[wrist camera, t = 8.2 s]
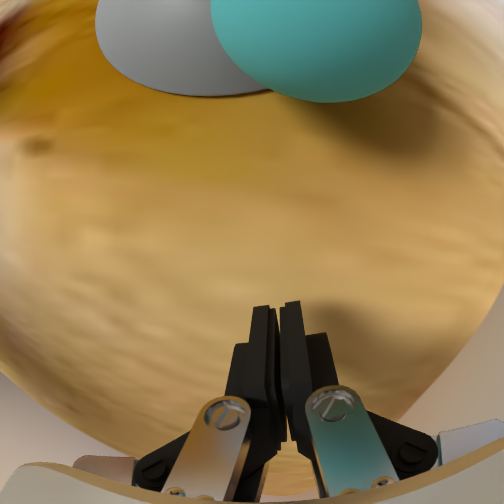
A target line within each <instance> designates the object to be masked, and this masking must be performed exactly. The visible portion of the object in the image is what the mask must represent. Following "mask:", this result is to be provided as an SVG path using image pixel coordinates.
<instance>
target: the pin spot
mask: <svg viewBox="0 0 504 504" xmlns="http://www.w3.org/2000/svg"><path fill="white" fill-rule="evenodd" d="M210 7H211V0H99V3H98V7H97V11H96V20H95V27H96V36H97V39H98V43H99V46H100V48H101V50H102V52H103V54H104V56H105V57H106V58H107V60H108V61H109V62H110V63H111V65H112V66H113V67H115V68H116V69H117V70H118V71H119V72H120V73H122V74H123V75H125V76H126V77H128V78H130V79H131V80H133V81H135V82H137V83H139V84H142V85H144V86H147V87H149V88H152V89H156V90H160V91H164V92H167V93H173V94H181V95H188V96H224V95H236V94H242V93H250V92H256V91H260V90H264V89H269V88H267V87H265V86H264V85H262V84H260V83H259V82H257V81H255V80H254V79H253V78H251V77H250V76H248V75H247V74H246V73H245V72H243V71H242V70H241V69H240V68H239V67H238V66H237V65H236V64H235V63H234V62H233V61H232V59H231V58H230V57H229V56H228V55H227V53H226V52H225V50H224V49H223V47H222V45H221V44H220V42H219V40H218V37H217V35H216V33H215V30H214V26H213V23H212V17H211V9H210Z"/></svg>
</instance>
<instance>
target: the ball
mask: <svg viewBox="0 0 504 504" xmlns="http://www.w3.org/2000/svg"><path fill="white" fill-rule="evenodd" d="M210 9H211V17H212V23H213V26H214V30H215V33H216V35H217V37H218V40H219V42H220V44H221V45H222V47H223V49H224V50H225V52H226V53H227V55H228V56H229V57H230V58H231V59H232V61H233V62H234V63H235V64H236V65H237V66H238V67H239V68H240V69H241V70H242V71H243V72H245V73H246V74H247V75H248V76H250V77H251V78H253V79H254V80H255V81H257V82H259V83H260V84H262V85H264V86H265V87H267V88H269V89H271V90H274V91H276V92H278V93H280V94H283V95H286V96H289V97H292V98H296V99H300V100H306V101H311V102H321V103H338V102H346V101H353V100H357V99H360V98H364V97H367V96H370V95H372V94H375V93H377V92H379V91H381V90H383V89H384V88H386V87H388V86H389V85H391V84H392V83H393V82H394V81H396V80H397V79H398V78H399V77H400V76H401V75H402V74H403V73H404V72H405V71H406V70H407V68H408V67H409V65H410V64H411V62H412V61H413V59H414V57H415V55H416V53H417V50H418V47H419V43H420V39H421V31H422V19H421V11H420V8H419V4H418V0H211V7H210Z"/></svg>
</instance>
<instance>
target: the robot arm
mask: <svg viewBox="0 0 504 504" xmlns="http://www.w3.org/2000/svg"><path fill="white" fill-rule="evenodd" d="M287 419H288V424H289V430H290V435H291V440H292V441H296V443H297V449H298V452H299V453H301V454H302V455H304V456H305V457H307V458H308V459H310V463H311V467H312V470H313V474H314V478H315V482H316V486H317V490H318V494H319V497H320V499H312V500H303V501H292V502H291V501H290V502H269V503H259V501H260V497H261V494H262V490H263V486H264V482H265V478H266V475H267V470H268V466H269V460H270V459H271V458H272V457H274V456H275V455H276V454H277V451H279V450H281V442H287ZM0 504H504V421H501V420H498V419H495V420H489V421H485V422H482V423H478V424H474V425H471V426H466V427H462V428H458V429H453V430H448V431H443V432H439V434H438V435H436V436H429V435H427V434H425V433H422V432H420V431H417V430H414V429H411V428H409V427H406V426H404V425H401V424H398V423H396V422H393V421H391V420H388V419H386V418H384V417H381V416H379V415H376V414H374V413H372V412H369V411H367V410H366V409H365V407H364V405H363V403H362V401H361V399H360V397H359V396H358V395H357V393H356V392H355V391H354V390H352V389H350V388H349V387H345V386H342V385H339V383H338V379H337V374H336V370H335V366H334V362H333V357H332V353H331V349H330V345H329V341H328V337H327V334H326V332H324V333H318V334H312V335H305V330H304V324H303V317H302V311H301V304H300V301H293V302H286V303H285V307H280V332H279V326H278V320H277V315H276V310H275V308H272V309H270V307H269V305H265V306H257V307H254V308H253V314H252V322H251V329H250V336H249V343H238V344H236V345H235V347H234V352H233V356H232V361H231V366H230V371H229V376H228V381H227V386H226V391H225V395H224V396H222V397H218V398H215V399H213V400H211V401H209V402H208V403H207V404H206V405H204V406H203V408H202V409H201V411H200V412H199V415H198V417H197V419H196V421H195V423H194V425H193V427H192V429H191V430H190V431H189V432H187V433H185V434H184V435H182V436H180V437H179V438H177V439H175V440H173V441H172V442H170V443H168V444H166V445H165V446H163V447H161V448H159V449H157V450H155V451H154V452H152V453H150V454H148V455H146V456H144V457H143V458H142V459H140V460H137V459H136V458H135V457H107V456H92V455H86V456H82V457H80V458H79V459H77V460H76V461H75V462H74V465H73V467H70V466H66V465H63V464H57V463H48V462H34V463H27V464H24V465H22V466H20V467H18V468H17V469H16V470H15V471H14V473H13V474H12V475H11V476H10V478H9V479H8V481H7V482H6V484H5V485H4V487H3V489H2V490H1V492H0Z"/></svg>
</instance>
